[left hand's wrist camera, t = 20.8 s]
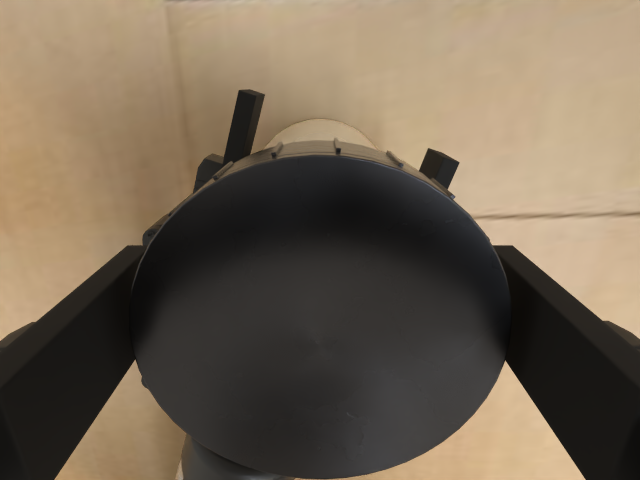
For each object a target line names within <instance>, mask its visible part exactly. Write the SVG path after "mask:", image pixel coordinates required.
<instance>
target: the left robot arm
mask: <svg viewBox="0 0 640 480" xmlns="http://www.w3.org/2000/svg"><path fill="white" fill-rule="evenodd" d="M147 247H148V246H126V247H125V248H124V249H123V250H122V251H120V252H119V253H118V254H117V255H116V256H114V257H113V258H112V259H111V260H110V261H108V262H107V263H106V264H105V265H104V266H103V267H101V268H100V269H99V270H98V271H97V272H95V273H94V274H93V275H92V276H91V277H89V278H88V279H87V280H86V281H85V282H83V283H82V284H81V285H80V286H79V287H77V288H76V289H75V290H74V291H73V292H71V293H70V294H69V295H68V296H67V297H65V298H64V299H63V300H62V301H61V302H59V303H58V304H57V305H56V306H55V307H53V308H52V309H51V310H50V311H49V312H47V313H46V314H45V315H44V316H43V317H41V318H40V319H39V320H38V321H37V322H31V323H30V324H28V325H26V326H24V327H22V328H20V329H18V330H16V331H14V332H12V333H10V334H9V335H7V336H6V337H5V338H4V339H2V340H1V341H0V480H54V479H55V478H56V476H57V475H58V473H59V472H60V470H61V469H62V467H63V466H64V464H65V463H66V461H67V460H68V458H69V457H70V455H71V454H72V452H73V451H74V450H75V448H76V447H77V445H78V444H79V442H80V441H81V439H82V438H83V436H84V435H85V433H86V432H87V430H88V429H89V427H90V426H91V424H92V423H93V421H94V420H95V418H96V417H97V415H98V414H99V412H100V411H101V409H102V408H103V406H104V405H105V403H106V402H107V400H108V399H109V398H110V396H111V395H112V393H113V392H114V390H115V389H116V387H117V386H118V384H119V383H120V381H121V380H122V378H123V377H124V375H125V374H126V372H127V371H128V369H129V368H130V366H131V365H132V363H133V362H134V360H135V356H134V353H133V349H132V343H131V337H130V331H129V304H130V297H131V290H132V285H133V281H134V278H135V275H136V272H137V269H138V266H139V263H140V261H141V259H142V257H143V255H144V253H145V251H146V249H147ZM493 248H494V249H495V251H496V253H497V255H498V257H499V260H500V262H501V265H502V267H503V270H504V272H505V275H506V278H507V283H508V287H509V292H510V296H511V310H512V326H511V336H510V343H509V347H508V351H507V355H506V359H505V360H506V362H507V363H508V365H509V366H510V368H511V369H512V371H513V372H514V374H515V375H516V377H517V378H518V380H519V381H520V383H521V384H522V386H523V387H524V389H525V390H526V392H527V393H528V395H529V396H530V398H531V399H532V400H533V402H534V403H535V405H536V406H537V408H538V409H539V411H540V412H541V414H542V415H543V417H544V418H545V420H546V421H547V423H548V424H549V426H550V427H551V429H552V430H553V432H554V433H555V435H556V436H557V438H558V439H559V441H560V442H561V444H562V445H563V447H564V448H565V450H566V451H567V452H568V454H569V455H570V457H571V458H572V460H573V461H574V463H575V464H576V466H577V467H578V469H579V470H580V472H581V473H582V475H583V476H584V478H585V479H586V480H640V339H639V338H637V337H636V336H635V335H634V334H632V333H631V332H629V331H627V330H625V329H623V328H621V327H619V326H617V325H616V324H614V323H612V322H610V321H602V320H601V319H600V318H599V317H597V316H596V315H595V314H594V313H593V312H591V311H590V310H589V309H588V308H587V307H585V306H584V305H583V304H582V303H581V302H579V301H578V300H577V299H576V298H575V297H573V296H572V295H571V294H570V293H569V292H567V291H566V290H565V289H564V288H563V287H561V286H560V285H559V284H558V283H557V282H555V281H554V280H553V279H552V278H551V277H549V276H548V275H547V274H546V273H545V272H543V271H542V270H541V269H540V268H539V267H537V266H536V265H535V264H534V263H533V262H532V261H530V260H529V259H528V258H527V257H526V256H524V255H523V254H522V253H521V252H520V251H518V250H517V249H516V248H515V247H514V246H493Z"/></svg>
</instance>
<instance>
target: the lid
mask: <svg viewBox="0 0 640 480" xmlns="http://www.w3.org/2000/svg"><path fill="white" fill-rule="evenodd" d="M454 198H455V196H454V195H453V194H452V193H451V192H449V191H448V190H447V189H446V188H445V187H443V186H442V185H441V184H440V183H438V182H437V181H436V180H435V179H434V178H432V179H431V180H430V179H429V178H427V177H426V176H425V175H424V174H422V173H421V172H419V171H418V170H416V169H415V168H413V167H412V166H410V165H409V164H407V163H406V162H404V161H402V160H400V159H398V158H397V157H396V156H395V155H394V154H393V153H392V152H390V151H387V153H385V152H382V151H379V150H376V149H373V148H370V147H367V146H364V145H359V144H353V143H347V142H342V141H338V138H334V141H325V140H311V141H301V142H291V143H287V144H283V142H278V144H277V145H276V146H274V147H270V148H267V149H264V150H262V151H259V152H256V153H254V154H251V155H249V156H246V157H244V158H243V159H241V160H239V161H237V162H235V163H234V164H233V162H232V161H231V162H229V163H228V164H227V165H225V166H224V167H223V168H222V169H221V170H220V171H218V172H217V173H216V174H215V175H214V176H212V179H211V180H209V181H208V182H207V183H206V184H205V185H204V186H203V187H201V188H200V189H199V190H198V191H197V192H196V193H194V194H193V193H192V194H191V195H190V196H189V197H187V198H186V199H185V200H184V201H183V202H182V203H180V204H179V205H178V206H177V207H176V208H174V209H173V210H172V211H171V212H170V213H169V214H168V216H169V218H168V219H167V220H166V221H165V222H164V223H163V225H162V226H161V228H160V229H159V230H158V232H157V233H156V235H155V236H154V237H153V239H152V240H151V242H150V243H149V245H148V247H147V249H146V251H145V253H144V255H143V257H142V259H141V261H140V263H139V266H138V269H137V272H136V275H135V278H134V281H133V285H132V290H131V297H130V304H129V331H130V337H131V343H132V349H133V353H134V356H135V359H136V362H137V365H138V368H139V371H140V373H141V375H142V377H143V379H144V381H145V383H146V385H147V387H148V389H149V391H150V392H151V393H152V395H153V396H154V398H155V399H156V401H157V402H158V404H159V405H160V407H161V408H162V409H163V410H164V411H165V412H166V413H167V415H168V416H169V417H170V418H171V419H172V420H173V421H174V422H175V423H176V424H177V425H178V426H179V427H180V428H181V429H183V430H184V431H185V432H186V433H187V434H188V435H189V436H191V437H192V438H194V439H195V440H196V441H198V442H199V443H201V444H202V445H203V446H205V447H206V448H208V449H210V450H212V451H214V452H215V453H217V454H219V455H221V456H222V457H224V458H227V459H229V460H231V461H234V462H236V463H238V464H241V465H243V466H246V467H249V468H252V469H256V470H259V471H262V472H266V473H271V474H275V475H280V476H286V477H294V478H303V479H335V478H348V477H354V476H360V475H366V474H370V473H374V472H378V471H382V470H386V469H389V468H391V467H394V466H397V465H400V464H402V463H405V462H407V461H409V460H412V459H414V458H416V457H418V456H420V455H422V454H424V453H426V452H427V451H429V450H431V449H432V448H434V447H435V446H437V445H439V444H440V443H442V442H443V441H445V440H446V439H447V438H448V437H450V436H451V435H452V434H453V433H455V432H456V431H457V430H458V429H460V428H461V427H462V426H463V425H464V424H465V423H466V422H467V421H468V420H469V419H470V418H471V417H472V416H473V415H474V413H475V412H476V411H477V410H478V408H479V407H480V406H481V404H482V403H483V402H484V401H485V399H486V398H487V396H488V395H489V393H490V391H491V390H492V388H493V386H494V384H495V383H496V381H497V379H498V377H499V374H500V372H501V369H502V367H503V365H504V362H505V359H506V355H507V351H508V347H509V343H510V336H511V326H512V310H511V296H510V292H509V287H508V283H507V278H506V275H505V272H504V270H503V267H502V265H501V262H500V260H499V257H498V255H497V253H496V251H495V249H494V248H493V246H492V244H491V243H490V239H489V238H488V237H487V236H486V234H485V233H484V232H483V230H482V229H481V228H480V227H479V226H478V224H477V223H476V222H475V221H474V219H473V218H472V217H471V216H470V215H469V214H468V213H467V212H466V211H465V210H464V209H463V208H462V207H461V206H459V205H458V204H457V203H456V202H455V201H454V200H453V199H454Z"/></svg>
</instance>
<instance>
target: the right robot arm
mask: <svg viewBox="0 0 640 480" xmlns="http://www.w3.org/2000/svg"><path fill="white" fill-rule="evenodd" d="M264 96H265V94H262V93H259V92H256V91H253V90H250V89H249V90H239V92H238V96H237V101H236V105H235V110H234V114H233V119H232V123H231V128H230V133H229V137H228V142H227V146H226V151H225V155H224V157H222V156H219V155H215V154H211V155H209V156H208V157H206V158H205V159H204V160H203V162H202V163H201V164H200V166H199V167H198V171H197V176H196V181H195V186H194V191H193V194H194V193H196V192H197V191H198V190H199V189H200V188H201V187H203V186H204V185H205V184H206V183H207V182H208V181H209V180H211V179H212V176H214V175H215V174H216V173H217V172H218V171H220V170H221V169H222V168H223V167H224V166H225V165H227V164H228V163H229V162H231V161H232V162H233V164H234V163H235V162H237V161H239V160H241V159H243V158H244V157H246V156H249V155H250V153H251V149H252V145H253V141H254V137H255V133H256V129H257V125H258V121H259V117H260V112H261V108H262V104H263V100H264ZM459 163H460V162H458V161H456V160H454V159H452V158H451V157H449V156H447V155H445V154H443V153H441V152H438V151H435V150H432V149H429V148H428V150H427V152H426V155H425V157H424V160H423V162H422V165H421V167H420V170H419V172H421V173H422V174H424V175H425V176H426V177H427V178H429V179H430V180H431V179H432V178H434V179H435V180H436V181H437V182H438V183H440V184H441V185H442V186H443V187H445V188H446V189H447V190H448V187H449V185H450V183H451V181H452V178H453V176H454V174H455V172H456V169H457V167H458V165H459ZM168 218H169V216H168V214H167V215H165V216H163V217H162V218H161V219H160V220H159V221H157V222H156V223H155V224H154V225H153V226H152V227H150V228H149V229H148V230H147V231H146V232H145V233H144V234H143V246H148V245H149V243H150V242H151V240H152V239H153V237H154V236H155V235H156V233H157V232H158V230H159V229H160V228H161V226H162V225H163V223H164V222H165V221H166V220H167V219H168ZM141 382H142V384H143V386H144V387H145V388H147V389H148V387H147V385H146V383H145V381H144V379H143V377H142V380H141ZM294 479H295V478H294V477H286V476H280V475H275V474H271V473H266V472H262V471H259V470H256V469H252V468H249V467H246V466H243V465H241V464H238V463H236V462H234V461H231V460H229V459H227V458H224V457H222V456H221V455H219V454H217V453H215V452H214V451H212V450H210V449H208V448H206V447H205V446H203V445H202V444H201V443H199V442H198V441H196V440H195V439H194V438H192V437H191V436H189V435H188V434H186V438H185V442H184V446H183V450H182V456H181V460H180V462H179V465H178V470H177V474H176V478H175V480H294Z"/></svg>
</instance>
